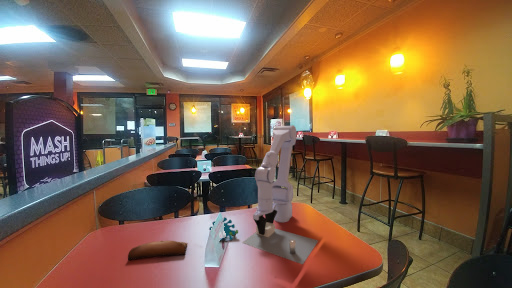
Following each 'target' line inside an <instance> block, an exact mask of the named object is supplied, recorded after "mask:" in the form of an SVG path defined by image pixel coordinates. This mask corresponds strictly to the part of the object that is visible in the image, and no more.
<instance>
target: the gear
mask: <svg viewBox="0 0 512 288" xmlns="http://www.w3.org/2000/svg"><path fill="white" fill-rule="evenodd" d="M226 221H227V222H226ZM215 222H216V221H215V220H214V221H212V223H211V224H212V226H210V227H209V229H208V230H209V231H210V230H211V228H213V226H214V223H215ZM222 222H224V226H225V227H224V231H225V233H226V238H227V237H228V240H229V241H232V240H233V239H234V238H233V237H235V236H237V235H238V234H239V230H238V229H235V228H236V225H235V224H232V223H233V221H232V220H231V219H228V218H227V217H226V216H224V217H223V220H222ZM229 224H230V225H229ZM231 228H232V229H231ZM233 229H235V230H233Z"/></svg>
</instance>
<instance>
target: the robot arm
mask: <svg viewBox="0 0 512 288" xmlns="http://www.w3.org/2000/svg"><path fill="white" fill-rule="evenodd" d="M272 129H273V130H272V137H273V140H272V142H271V146H270V149H269V151H267V152H266V153H265V156H264V157H263V160H262V162H261V165H260V166H259V167H258V168H256V170H255V172H254V173H255V174H254V179H255V181H256V186H257V206H256V207H255V209H256V211H255V212H254V213H253V214H252V218H253V221H254V222H255V225H256V226H257V228H258V231H259V234H261V235H264V234H265V226H266V222H268V223H272V224H274V221H275V222H277V223H286V222H289V221H290V219H291V218H292V217H293V204H292V201H293V199H294V186H293V184H292V183H291V182H289V176H290V167H291V159H292V151H293V146H295V145H296V141H297V128H296V126H295V125H293V124H292V125H274V127H273V128H272ZM279 153H280V156H279V155H278V154H279ZM278 161H279V165H278V170H276V167H277V164H278ZM276 171H278V172H277V178H276ZM275 178H276V180H275Z"/></svg>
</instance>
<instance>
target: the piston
mask: <svg viewBox="0 0 512 288" xmlns="http://www.w3.org/2000/svg"><path fill="white" fill-rule="evenodd" d="M289 251H290V254H295V253H296V241H295V240H294V239H291V240H289Z"/></svg>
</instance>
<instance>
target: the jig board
mask: <svg viewBox="0 0 512 288" xmlns="http://www.w3.org/2000/svg"><path fill="white" fill-rule="evenodd" d="M291 239H294V240H295V241H296V253H295V254H290V251H289V240H291ZM241 242H242V244H245V245H247V246H250V247H252V248H255V249H258V250H262V251H264V252H266V253H270V254H272V255H275V256H278V257H279V258H280V257H281V258H284V259H287V260H289V261H292V262H295V263H297V264H300V265H304V263H306V260H307V259H308V258H309V256H310V254H311V253H312V251H313V250H314V248H315V247H316V245H317V244H318V242H319V240H317V239H314V238H310V237H308V236H303V235H299V234H296V233H293V232H289V231H285V230H281V229H279V228H275V232H274V233H273V234H271V235H270V236H269V237H266V236H262V235H259V234H256V232H255V233H253V234H251V235H250V236H249V237H247V238H246V239H245V240H243V241H241Z"/></svg>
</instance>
